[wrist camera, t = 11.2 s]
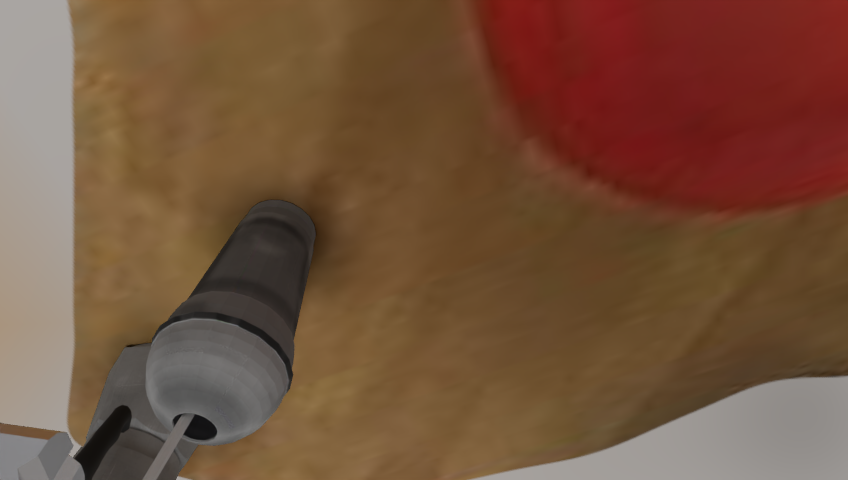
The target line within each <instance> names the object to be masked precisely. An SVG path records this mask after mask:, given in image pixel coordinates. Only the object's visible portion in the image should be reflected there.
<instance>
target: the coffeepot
mask: <svg viewBox="0 0 848 480" xmlns="http://www.w3.org/2000/svg"><path fill="white" fill-rule="evenodd" d="M150 350H151V343H146V344H139V345H136V346H133V347H125V348H124V350H123V351H122V353H121V355H120V356H119V358H118V359H117V361H116V362H115V364H114V366H113V367H112V369H111V370H110V372H109V375H108V377H107V380H106V383H105V386H104V389H103V391H102V394H101V397H100V400H99V403H98V406H97V408H96V411H95V414H94V417H93V420H92V422H91V425H90V428H89V431H88V434H87V437H86V440H87V441H86V443H85V445H84V446H83V447H81V448H80V449H79V450H78V452H77V453H76V454H75V455H74V457H73V458H74V459H75V460H76V461H77V462H79V463H80V464H81V466H82V469H83V471H84V474H85V480H143V478H144V476H145V475H146V473H147V471H148V470H149V468H150V466H151V465H152V463H153V461H154V460H155V458H156V456H157V455H158V453H159V452H160V450H161V448H162V447H163V445H164V443H165V442H166V440H167V438H168V437H169V435H170V433H171V432H170V431H169V430H168V429H166V428H165V426H164V425H163V424H162V423H161V422H160V421H159V419H158V418H157V417H156V415H155V414H154V411H153V409H152V407H151V404H150V402H149V399H148V397H147V393H146V387H145V383H146V363H147V359H148V354H149V352H150ZM197 446H198V444H195V443H191V442H188V441H186V440H184V439H180V440H179V442H178V444H177V446H176V447H175V449H174V451H173V452H172V454H171V456H170V457H169V459H168V461H167V462H166V464H165V466H164V468H163V469H162V471H161V473H160V474H159V476H158V478H157V479H156V480H176V478H177V476H178V474H179V472H180V471H181V469H182V468H183V467H184V465H185V464H186V463H187V461H188V460H189V458H190V457H191V455H192V453H193V452H194V450H195V449H196V447H197Z"/></svg>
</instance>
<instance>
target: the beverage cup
mask: <svg viewBox="0 0 848 480" xmlns="http://www.w3.org/2000/svg"><path fill="white" fill-rule="evenodd" d="M315 236H316V232H315V227H314V224H313V222H312V220H311V219H310V217H309V216H308V215H307V214H306V213H305V212H304V211H303V210H302V209H301V208H299V207H297V206H295V205H294V204H292V203H288V202H285V201H281V200H267V201H263V202H260V203H258V204H257V205H255V206H254V207H252V208H251V210H250V211H249V213H248V214H247V215H246V217H245V218H244V219H243V220H242V221H241V222H240V223H239V225H238V226H237V228H236V229H235V231H234V232H233V234H232V235H231V237H230V238H229V240H228V241H227V242H226V244H225V245H224V247H223V248H222V250H221V251H220V253H219V254H218V256H217V257H216V259H215V260H214V261H213V263H212V264H211V266H210V267H209V269H208V270H207V272H206V273H205V275H204V276H203V278H202V279H201V280H200V282H199V283H198V285H197V286H196V288H195V289H194V291H193V292H192V294H191V295H190V296H189V298H188V299H187V300H186V301H185V302H183V303H182V304H181V305H180V306H179V307H178V308H177V309H176V310H175V312H174V313H173V314H172V315H171V316H170V317H169V319H168V321H166V322H165V323H163V324H162V325H160V327H159V328H158V330H157V332H156V333H155V335H154V337H153V338H152V343H151V350H150V352H149V354H148V359H147V363H146V383H145V387H146V393H147V397H148V399H149V402H150V404H151V407H152V409H153V411H154V414H155V415H156V417H157V418H158V419H159V421H160V422H161V423H162V424H163V425H164V426H165V428H166V429H168V430H169V431H170V432H171V433H170V435H169V437H168V438H167V440H166V442H165V443H164V445H163V447H162V448H161V450H160V452H159V453H158V455H157V456H156V458H155V460H154V461H153V463H152V465H151V466H150V468H149V470H148V471H147V473H146V475H145V476H144V478H143V480H156V479H157V478H158V476H159V474H160V473H161V471H162V469H163V468H164V466H165V464H166V462H167V461H168V459H169V457H170V456H171V454H172V452H173V451H174V449H175V447H176V446H177V444H178V442H179V440H180V439H184V440H186V441H188V442H191V443H195V444H200V445H213V446H215V445H222V444H227V443H232V442H235V441H237V440H239V439H241V438H243V437H246V436H248V435H250V434H252V433H254V432H255V431H256V430H258V429H259V428H260V427H261V426H262V425H263V424H264V423H265V422H266V421H267V420H268V419H269V418H270V416H271V415H272V414H273V413H274V412H275V411H276V409H277V408H278V406H279V405H280V403H281V401H282V399H283V397H284V396H285V394H286V393H287V392H288V390H289V389H290V386H291V381H292V377H293V372H292V365H293V359H294V341H293V340H294V336H295V331H296V327H297V322H298V318H299V313H300V309H301V304H302V300H303V295H304V291H305V286H306V282H307V277H308V273H309V268H310V264H311V259H312V255H313V245H314V240H315Z"/></svg>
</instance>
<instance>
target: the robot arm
mask: <svg viewBox="0 0 848 480" xmlns="http://www.w3.org/2000/svg"><path fill="white" fill-rule="evenodd" d="M72 448H73V444H72V442H71V440H70V438H69V435H68V433H67V432H60V431H54V430H46V429H39V428H32V427H25V426H18V425H10V424H4V423H0V480H85V474H84V471H83V469H82V466H81V464H80V463H79V462H77V461H76V460H75V459H74V458H72V457H71V456H70V455H69V453H70V451H71V449H72Z"/></svg>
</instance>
